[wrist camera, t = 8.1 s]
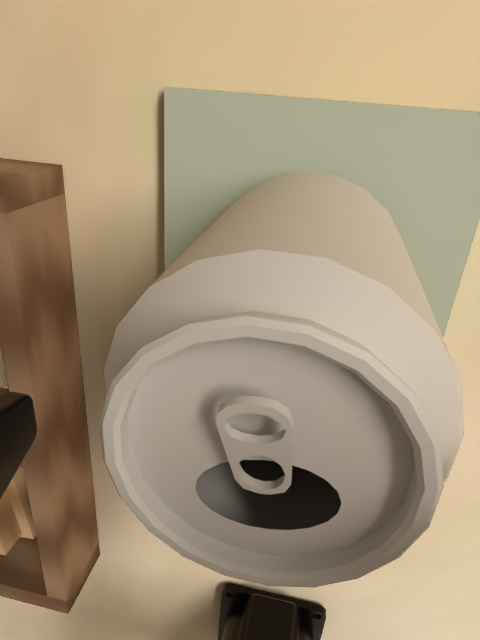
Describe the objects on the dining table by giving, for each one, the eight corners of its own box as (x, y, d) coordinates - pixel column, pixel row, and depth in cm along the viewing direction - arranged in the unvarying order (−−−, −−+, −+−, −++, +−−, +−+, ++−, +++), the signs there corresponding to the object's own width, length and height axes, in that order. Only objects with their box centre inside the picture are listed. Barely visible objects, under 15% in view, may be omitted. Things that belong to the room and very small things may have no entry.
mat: (419, 400, 21) (421, 408, 20) (168, 357, 23) (164, 364, 22) (505, 114, 16) (511, 114, 15) (169, 87, 17) (164, 87, 17)
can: (225, 343, 21) (106, 592, 10) (206, 173, 18) (10, 285, 7) (396, 346, 19) (460, 645, 9) (409, 161, 16) (533, 283, 6)
